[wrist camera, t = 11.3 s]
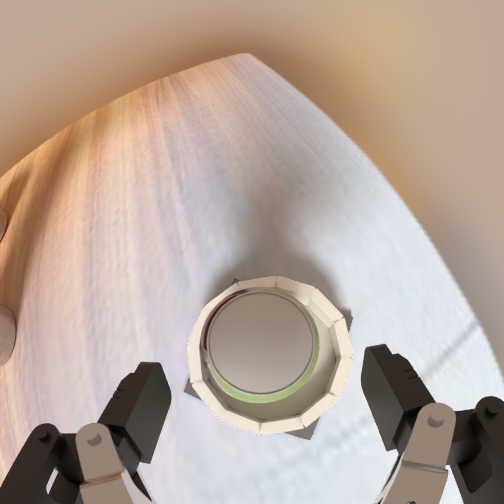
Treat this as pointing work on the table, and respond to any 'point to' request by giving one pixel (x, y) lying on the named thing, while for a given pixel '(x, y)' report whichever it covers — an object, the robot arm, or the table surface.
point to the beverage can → (259, 345)
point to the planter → (2, 223)
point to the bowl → (307, 396)
